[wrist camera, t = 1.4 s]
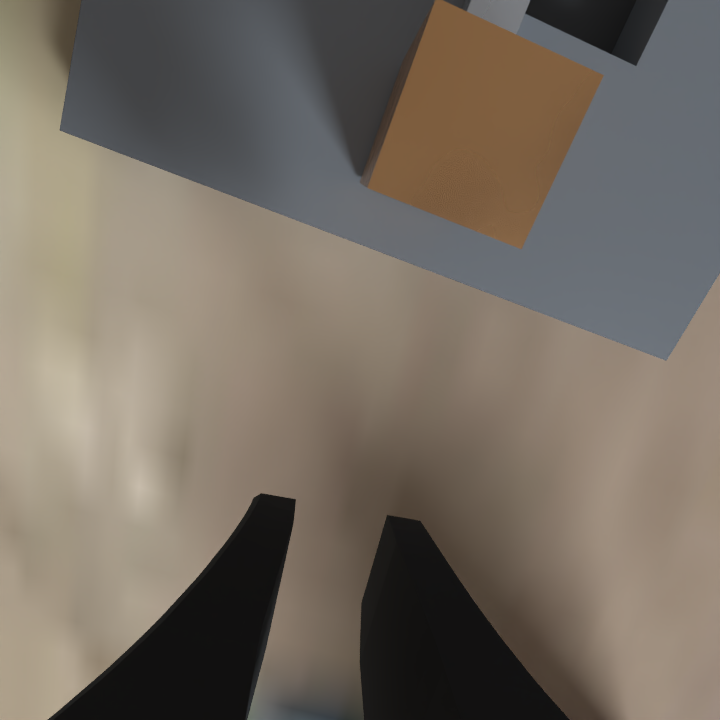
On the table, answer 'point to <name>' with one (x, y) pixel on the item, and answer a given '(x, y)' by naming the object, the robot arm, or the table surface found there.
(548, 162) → the slider
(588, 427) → the table surface
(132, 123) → the grey slotted board
